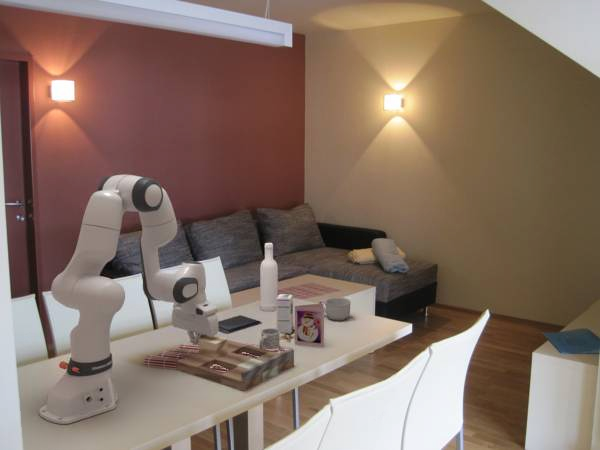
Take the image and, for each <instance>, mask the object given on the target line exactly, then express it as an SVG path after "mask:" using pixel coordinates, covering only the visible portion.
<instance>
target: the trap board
mask: <svg viewBox="0 0 600 450" xmlns="http://www.w3.org/2000/svg"><path fill="white" fill-rule="evenodd" d="M227 348H228V353H226V354H223V355H221V356H219V357H216V358H215V357H211V356H208V355H204V354H201V353H199V351H198V352H196V353H193V354H191V355H189V356H186V357H184V358H180V359H179V360H177V361H176V370H177V371H180V372H184V373H187V374H190V375H193V376H195V377H199V378H201V379H205V380H208V381H212V382H215V383H217V384H219V385H220V384H221V385H224V386H227V387H230V388H233V389H236V390H239V391H242V392H246V391H248V390H250V389H252V388H254V387H256V386H257V385H259V384H261V383H263V382H265V381H267V380H269V379H271V378H273V377H275V376H277V375H279V374H280V373H281V374H282V372H285V371H287V370H288V369H291V368H292V367H294V366H295V349H294V348H289V349H287V350H285V351H283V352H280V353H278V352H276V351H273V352H272V351H268V350H264V349H260V347H256V346H252V345H249V344H245V343H242V342H237V341H234V340H230V339H227ZM242 352H246V353H249V354H252V355H255V356H259V357H258V358H254V357H250V356H247V355H239V354H241V353H242ZM213 364H217V365H220V366H222V367H224V368H226V369H228V370H229V371H225V372H223V371H220V370H218V369H215V368H212V369H211V368H210V366H212V365H213Z"/></svg>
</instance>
